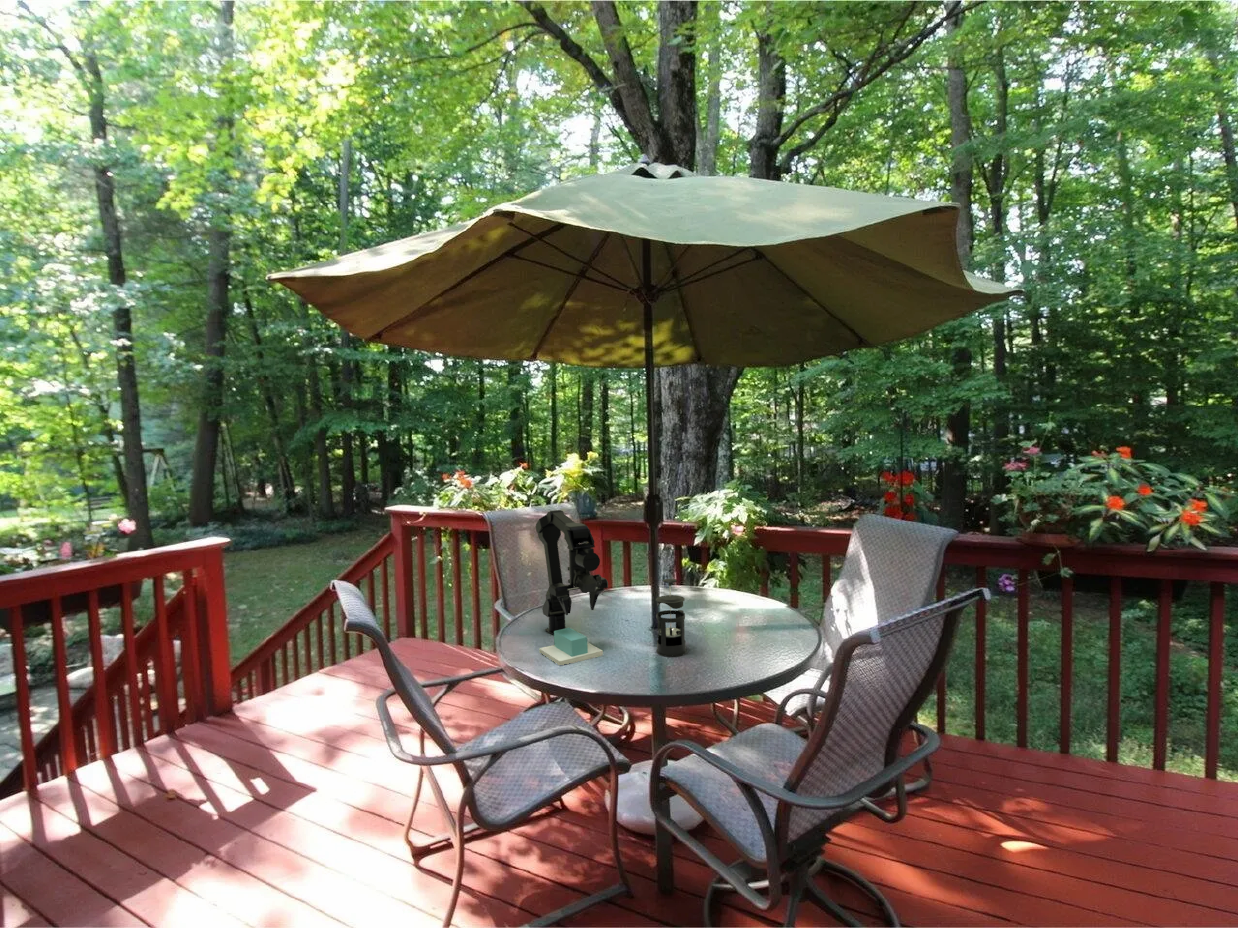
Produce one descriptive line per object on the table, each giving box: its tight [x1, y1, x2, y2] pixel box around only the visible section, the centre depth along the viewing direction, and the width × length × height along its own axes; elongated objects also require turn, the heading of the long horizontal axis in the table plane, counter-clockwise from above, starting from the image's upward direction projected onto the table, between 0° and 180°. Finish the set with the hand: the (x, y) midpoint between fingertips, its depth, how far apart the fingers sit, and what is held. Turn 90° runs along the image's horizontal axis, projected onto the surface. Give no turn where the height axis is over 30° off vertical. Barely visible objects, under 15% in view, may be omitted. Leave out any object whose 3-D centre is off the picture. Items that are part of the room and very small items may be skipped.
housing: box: [553, 627, 589, 657], centre depth 208 cm, size 6×12×5 cm, turn 32°
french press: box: [655, 578, 688, 658], centre depth 208 cm, size 12×9×23 cm
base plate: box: [539, 641, 604, 666], centre depth 208 cm, size 14×15×2 cm
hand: (579, 612), depth 213 cm, fingers open, 9 cm apart
